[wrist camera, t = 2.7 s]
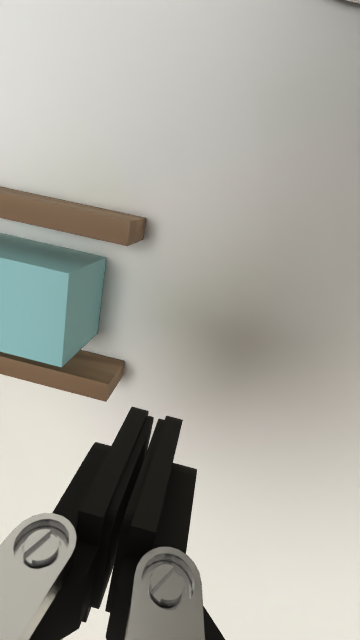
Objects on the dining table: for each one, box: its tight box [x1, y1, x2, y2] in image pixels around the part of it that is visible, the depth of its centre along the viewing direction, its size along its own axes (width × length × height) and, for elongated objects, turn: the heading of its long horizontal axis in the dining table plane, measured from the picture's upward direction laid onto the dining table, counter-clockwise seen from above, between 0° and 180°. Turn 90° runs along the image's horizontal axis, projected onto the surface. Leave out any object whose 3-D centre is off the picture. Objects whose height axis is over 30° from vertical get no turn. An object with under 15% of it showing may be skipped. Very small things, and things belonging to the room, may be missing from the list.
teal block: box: [0, 233, 106, 367], centre depth 19 cm, size 5×8×5 cm, turn 77°
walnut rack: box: [0, 187, 146, 401], centre depth 20 cm, size 10×12×3 cm
